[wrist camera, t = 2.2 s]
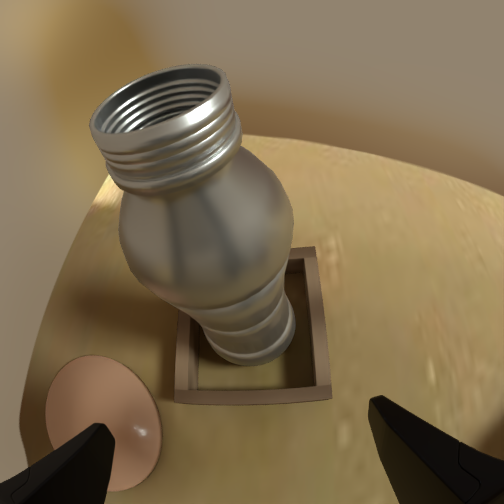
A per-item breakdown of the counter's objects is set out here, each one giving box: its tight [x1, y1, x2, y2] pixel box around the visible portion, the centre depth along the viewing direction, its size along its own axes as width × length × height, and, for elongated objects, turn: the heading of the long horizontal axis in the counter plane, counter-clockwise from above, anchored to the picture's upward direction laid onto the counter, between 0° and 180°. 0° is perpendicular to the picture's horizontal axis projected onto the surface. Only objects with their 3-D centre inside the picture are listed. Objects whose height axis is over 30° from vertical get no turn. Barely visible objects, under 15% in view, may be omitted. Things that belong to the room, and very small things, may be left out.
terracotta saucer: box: [45, 355, 163, 491], centre depth 19 cm, size 13×13×1 cm
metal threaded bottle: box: [89, 64, 296, 366], centre depth 15 cm, size 6×7×20 cm
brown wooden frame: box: [174, 246, 332, 405], centre depth 22 cm, size 12×11×2 cm
